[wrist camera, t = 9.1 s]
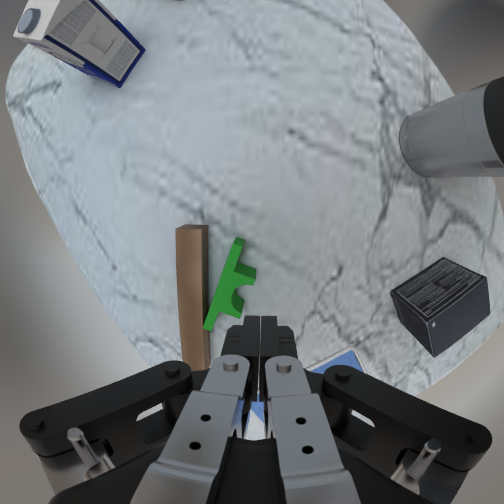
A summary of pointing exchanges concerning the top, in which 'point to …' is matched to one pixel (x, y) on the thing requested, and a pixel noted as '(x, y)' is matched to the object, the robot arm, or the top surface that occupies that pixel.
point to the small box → (442, 304)
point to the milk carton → (81, 37)
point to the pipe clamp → (230, 286)
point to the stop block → (193, 294)
